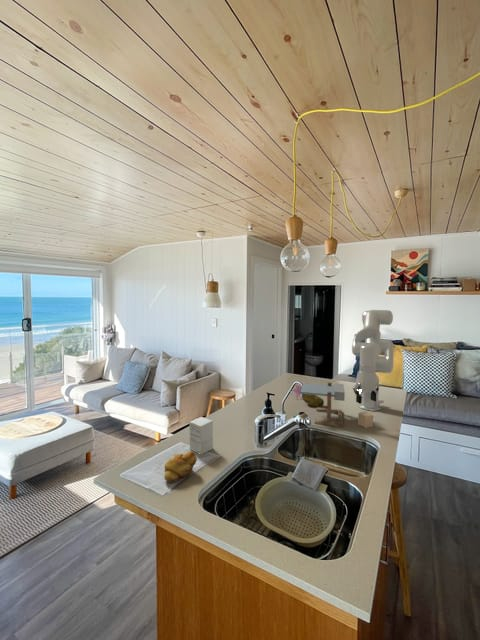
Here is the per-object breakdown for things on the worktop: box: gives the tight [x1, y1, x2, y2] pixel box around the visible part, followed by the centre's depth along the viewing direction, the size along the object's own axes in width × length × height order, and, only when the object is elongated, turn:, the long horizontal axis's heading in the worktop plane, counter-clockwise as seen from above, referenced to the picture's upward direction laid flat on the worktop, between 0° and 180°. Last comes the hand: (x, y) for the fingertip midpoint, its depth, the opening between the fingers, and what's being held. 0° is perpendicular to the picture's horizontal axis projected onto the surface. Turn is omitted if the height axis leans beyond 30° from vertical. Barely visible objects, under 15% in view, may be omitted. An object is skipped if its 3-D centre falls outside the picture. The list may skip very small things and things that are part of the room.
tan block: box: [357, 411, 374, 429], centre depth 160 cm, size 5×5×6 cm
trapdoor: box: [300, 383, 346, 402], centre depth 170 cm, size 22×16×4 cm
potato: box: [301, 394, 325, 407], centre depth 189 cm, size 8×13×8 cm, turn 50°
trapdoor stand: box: [314, 382, 344, 428], centre depth 169 cm, size 14×22×17 cm, turn 163°
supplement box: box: [189, 416, 214, 455], centre depth 133 cm, size 7×7×13 cm
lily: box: [291, 381, 307, 400], centre depth 203 cm, size 12×12×10 cm
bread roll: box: [164, 451, 198, 483], centre depth 114 cm, size 13×10×8 cm
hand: (366, 401), depth 159 cm, fingers open, 9 cm apart
